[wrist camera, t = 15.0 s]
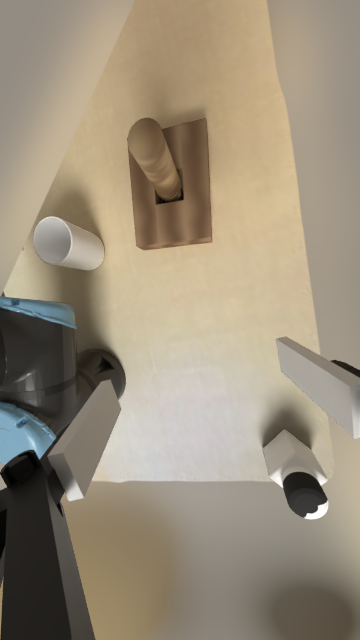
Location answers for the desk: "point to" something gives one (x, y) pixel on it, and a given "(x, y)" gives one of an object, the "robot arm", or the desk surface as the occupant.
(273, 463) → the medicine bottle
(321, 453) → the desk surface
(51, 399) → the robot arm
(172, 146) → the seat board
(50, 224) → the mug
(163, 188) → the oak leg
